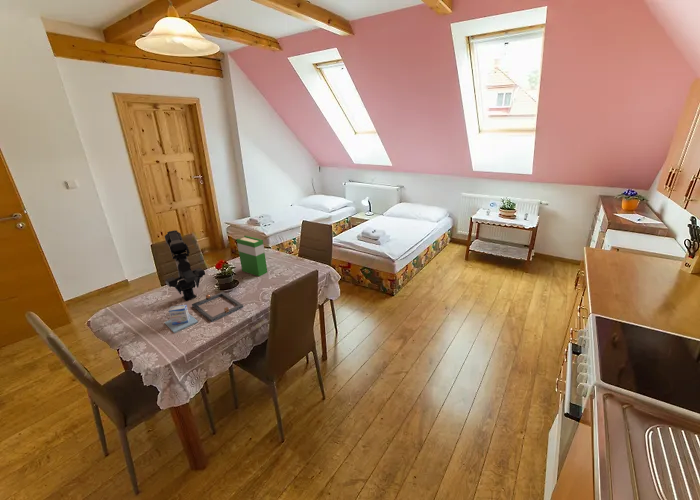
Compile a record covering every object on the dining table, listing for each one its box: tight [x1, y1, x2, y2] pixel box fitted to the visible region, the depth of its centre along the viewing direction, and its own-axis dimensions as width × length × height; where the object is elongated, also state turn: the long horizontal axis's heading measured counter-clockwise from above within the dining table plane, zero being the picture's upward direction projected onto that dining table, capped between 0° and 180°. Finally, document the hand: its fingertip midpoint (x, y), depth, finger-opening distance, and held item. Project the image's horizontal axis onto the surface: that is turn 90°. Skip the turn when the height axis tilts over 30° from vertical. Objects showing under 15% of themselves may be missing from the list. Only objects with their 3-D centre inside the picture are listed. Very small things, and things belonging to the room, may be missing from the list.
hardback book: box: [236, 235, 268, 277], centre depth 218 cm, size 18×7×24 cm, turn 57°
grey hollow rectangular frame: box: [191, 291, 244, 323], centre depth 180 cm, size 24×19×4 cm
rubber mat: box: [164, 313, 199, 334], centre depth 167 cm, size 13×12×1 cm
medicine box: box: [168, 304, 190, 325], centre depth 165 cm, size 8×4×9 cm, turn 105°
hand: (189, 290), depth 174 cm, fingers open, 9 cm apart
